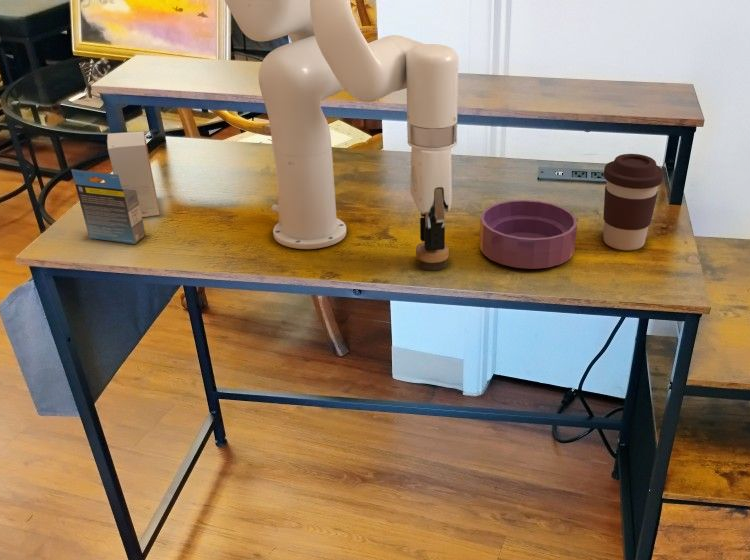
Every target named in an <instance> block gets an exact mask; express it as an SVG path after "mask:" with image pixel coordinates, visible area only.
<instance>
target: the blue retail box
mask: <svg viewBox="0 0 750 560" xmlns="http://www.w3.org/2000/svg"><path fill="white" fill-rule="evenodd" d="M70 171H71V173H72V178H73V179H72V180H73V182H74V187H75V190H76V193H77V197H78V200H79V204H80V208H81V212H82V216H83V219H84V223H85V227H86V231H87V234H88V238H89V239H91V240H101V241H108V242H109V241H110V242H117V243H125V244H130V245H131V244H132V245H136V244H138V243H139V242H140V241H141V240H143V239H144V238H145V237H146V231H145V230H146V229H145V226H144V220H143V217H142V216H141V211H140V206H139V202H138V197H137V192H136V190H130V189H123V188H122V186H121V183H120V179H119V176H118V175H117V174H113V173H105V172H98V171H91V170H81V169H75V168H70ZM95 178H97V179H98V180H103V181H104V182H100V181H91V180H90V179H95Z"/></svg>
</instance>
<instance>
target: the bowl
mask: <svg viewBox="0 0 750 560" xmlns="http://www.w3.org/2000/svg"><path fill="white" fill-rule="evenodd" d="M577 230H578V218H577V217H576V215H574V213H573V212H571V211H570V210H568V209H567V208H565V207H563V206H561V205H557V204H555V203H552V202H547V201H541V200H534V199H533V200H532V199H515V200H514V199H513V200H505V201H501V202H497V203H494V204H491V205H490V206H487V207H486V208H485V209H484V210H483V211H482V212H481V214H480V218H479V239H478V241H479V243H478V244H479V245H478V247H479V249H480V251H481V253H482V254H483V255H484V256H485V257H487V258H488V259H489V260H491V261H493V262H495V263H498V264H500V265H503V266H506V267H507V266H508V267H511V268H516V269H525V270H526V269H527V270H534V269H536V270H537V269H548V268H551V267H557V266H559V265H562V264H564V263H566V262H568V261H569V260H570V259H572V257H573V255H575V250H576V242H577V241H576V240H577Z"/></svg>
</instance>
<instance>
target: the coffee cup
mask: <svg viewBox="0 0 750 560" xmlns="http://www.w3.org/2000/svg"><path fill="white" fill-rule="evenodd" d="M664 176H665V171H664V169H663V168H661V166H659V165H658V164H657V161H656V160H655V159H654V158H652V157H650V156H648V155H645V154H639V153H624V154H620V155H617V156H616V157H615V158H614V159H613V160H612V161H610V162H607V163H606V164H605V165H604V169H603V178H604V179H605V180H606V185H605V186H604V199H603V217H602V218H603V220H604V223H603V242H604V243H605V245H606V246H608V247H610V248H612V249H615V250H619V251H627V252H628V251H629V252H630V251H636V250H638V249H641V248H642V247H644V245H645V243H646V240H647V235H648V232H649V231H648V230H649V227H650V225H651V223H652V220H653V215H654V211H655V206H656V202H657V199H658V194H659V193H658V188H659V186H660V185H661V184H662V183H663V181H664Z"/></svg>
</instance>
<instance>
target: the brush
mask: <svg viewBox="0 0 750 560" xmlns="http://www.w3.org/2000/svg"><path fill="white" fill-rule="evenodd" d="M431 208H434V206H432V207H431ZM432 216H435V214H431V218H432ZM425 222H426V212H425ZM426 227H427V226H426ZM449 256H450V248H449V245H448V244H447V243H445V248H444V249H443V250H432V251H426V250H425V241H421V242H420V243H418V244H417V245H416V246H415V257H416V259H417V266H418V267H419V268H420V269H421V270H425V271H430V272H431V271H432V272H435V271H441V270H443V269H446V267H447V265H448V258H449Z"/></svg>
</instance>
